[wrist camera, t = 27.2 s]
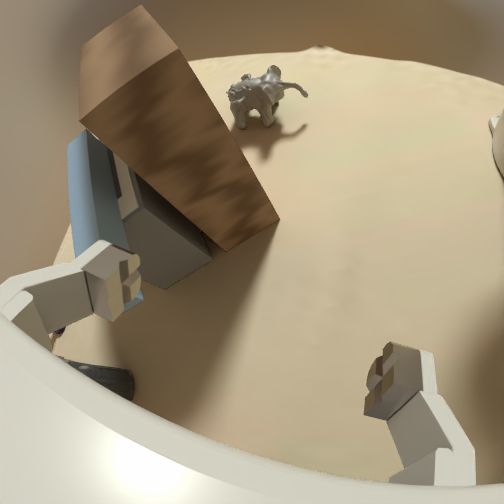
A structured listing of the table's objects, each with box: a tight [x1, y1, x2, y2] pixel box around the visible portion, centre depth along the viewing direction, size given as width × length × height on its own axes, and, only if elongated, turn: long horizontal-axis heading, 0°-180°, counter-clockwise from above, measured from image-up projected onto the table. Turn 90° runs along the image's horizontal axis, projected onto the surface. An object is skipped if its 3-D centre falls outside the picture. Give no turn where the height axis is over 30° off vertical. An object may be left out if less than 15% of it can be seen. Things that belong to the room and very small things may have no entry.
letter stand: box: [92, 133, 213, 289], centre depth 38 cm, size 8×18×15 cm, turn 26°
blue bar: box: [67, 129, 144, 315], centre depth 26 cm, size 3×20×4 cm, turn 26°
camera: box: [56, 355, 134, 401], centre depth 35 cm, size 11×6×10 cm, turn 86°
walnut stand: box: [79, 5, 280, 251], centre depth 32 cm, size 8×18×26 cm, turn 26°
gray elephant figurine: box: [226, 65, 308, 129], centre depth 43 cm, size 9×12×8 cm
